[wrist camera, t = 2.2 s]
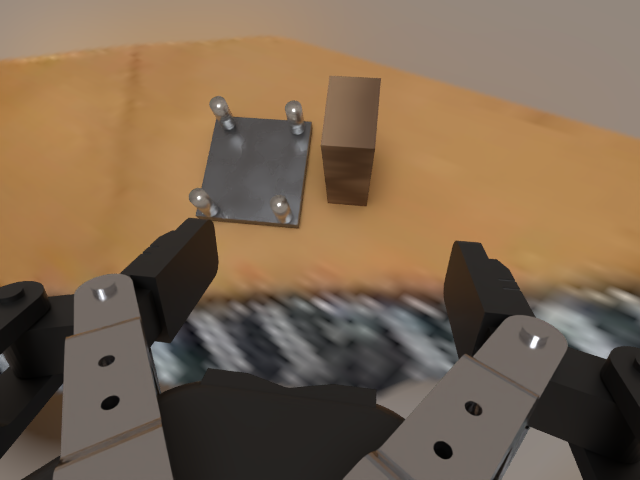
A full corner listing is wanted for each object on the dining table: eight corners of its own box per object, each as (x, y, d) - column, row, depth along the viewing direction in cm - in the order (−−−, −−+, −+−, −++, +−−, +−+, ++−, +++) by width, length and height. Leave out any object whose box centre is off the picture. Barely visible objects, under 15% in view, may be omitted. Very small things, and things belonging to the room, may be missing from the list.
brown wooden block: (328, 203, 33) (320, 145, 24) (334, 150, 35) (329, 75, 25) (366, 206, 33) (374, 148, 23) (371, 153, 34) (380, 78, 25)
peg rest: (199, 219, 34) (181, 203, 30) (220, 122, 36) (205, 95, 32) (298, 228, 33) (292, 212, 29) (312, 127, 35) (308, 101, 31)
